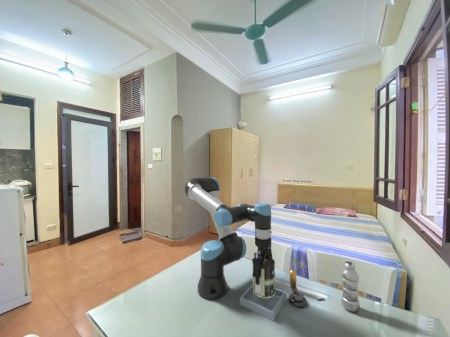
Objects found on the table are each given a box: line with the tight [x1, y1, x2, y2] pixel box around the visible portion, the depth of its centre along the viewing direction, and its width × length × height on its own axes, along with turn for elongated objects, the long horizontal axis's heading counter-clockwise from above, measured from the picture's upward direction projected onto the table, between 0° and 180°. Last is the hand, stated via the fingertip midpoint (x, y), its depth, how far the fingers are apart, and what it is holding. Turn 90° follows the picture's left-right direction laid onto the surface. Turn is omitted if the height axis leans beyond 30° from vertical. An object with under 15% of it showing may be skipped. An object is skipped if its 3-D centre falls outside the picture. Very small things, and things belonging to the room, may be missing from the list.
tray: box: [239, 283, 287, 322], centre depth 87 cm, size 16×16×3 cm
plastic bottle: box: [340, 260, 360, 313], centre depth 82 cm, size 6×7×20 cm
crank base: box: [288, 293, 308, 309], centre depth 87 cm, size 8×8×1 cm
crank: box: [289, 268, 304, 302], centre depth 90 cm, size 12×5×8 cm, turn 174°
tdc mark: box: [316, 297, 326, 301], centre depth 88 cm, size 4×1×1 cm, turn 96°
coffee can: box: [251, 257, 276, 298], centre depth 87 cm, size 10×10×14 cm
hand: (263, 284), depth 87 cm, fingers closed on coffee can, 10 cm apart
